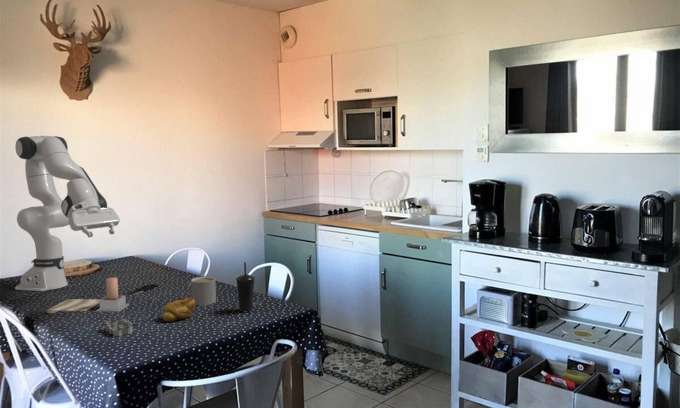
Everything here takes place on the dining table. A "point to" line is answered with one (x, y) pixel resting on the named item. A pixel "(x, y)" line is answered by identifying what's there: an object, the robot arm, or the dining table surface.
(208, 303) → the coffee mug
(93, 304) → the board
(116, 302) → the holder
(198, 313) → the dining table surface
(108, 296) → the dowel
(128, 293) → the knife
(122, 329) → the egg carton
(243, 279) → the drinking cup
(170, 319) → the bread roll
